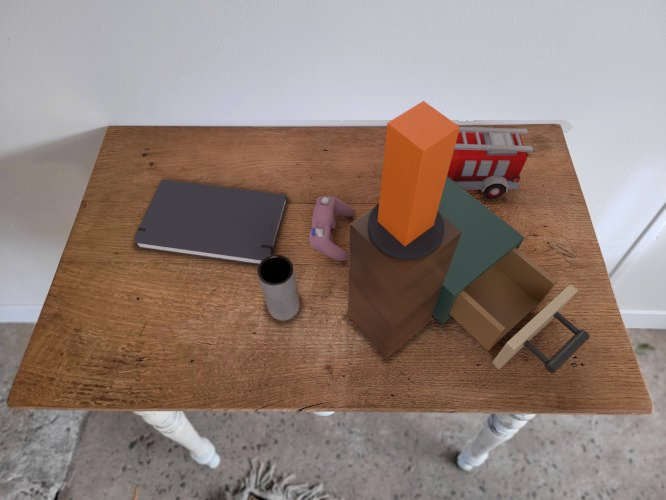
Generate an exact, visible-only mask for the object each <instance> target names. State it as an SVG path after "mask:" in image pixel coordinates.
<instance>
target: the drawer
mask: <svg viewBox="0 0 666 500" xmlns="http://www.w3.org/2000/svg"><path fill="white" fill-rule="evenodd" d="M557 283H558V280H557V279H556V278H554V277H553V276H552V275H551V274H550V273H549V272H547V271H546V270H545V269H544V268H542V267H541V266H540V265H539V264H537V263H536V262H535V261H534V260H532V259H531V258H530V257H529V256H527V255H526V254H525V253H524V252H523V251H521V250H520V248H519V249H517V248H516V247H515V248H514V249H512V250H511V251H510V252H509V253H508V254H506V255H505V256H504V257H503V258H502V259H500V260H499V261H498V262H497V263H495V264H494V265H493V266H492V267H491V268H489V269H488V270H487V271H486V272H485V273H483V274H482V275H481V276H480V277H479V278H477V279H476V280H475V281H474V282H473V283H471V284H470V285H469V286H468V287H466V288H465V289H464V290H463V291H462V292H460V293H459V294H458V295H457V297H456V299H455V302H454V304H453V306H452V309H451V311H450V313H449V314H450V315H451V316H452V317H451V318H452V319H454V320H455V321H456V322H457V323H458V324H459V325H460V326H461V327H462V328H463V329H464V330H465V331H466V332H468V334H469V335H470V336H472V337H473V339H474V340H476V341H477V342H478V343H479V344H480V345H481V346H482V347H483V348H484V349H485V350H486V351H487V352H489V351H490V350H491V349H492V348H493V347H495V345H497V344H498V343H499V342H500V341H501V340H502V339H504V337H505V336H506V335H508V333H510V332H511V331H512V330H513V329H514V328H515V327H516V326H517V325H519V324H520V323H521V322H522V321H523V320H524V319H525V318H526V317H527V316H529V315H530V313H532V312H533V311H534V310H535V309H536V308H538V307H539V305H540V304H542V302H543V301H544V300H545V299H546V297H547V296H548V295H549V293H550V292H551V290H552V289H553V288H554V286H555V285H556V284H557ZM578 292H579V289H578V288H577V287H575V286H574V285H572V284H571V283H569V284H568V286H567V287H564V289H563V290H562V291H561V292H560V293H559V294H558V295H556V296H555V297H554V298H553V299H552V300H551V301H550V302H549V303H548V304H546V306H545V307H543V308H542V309H541V310H540V311H539V312H538V313H537V314H536V315H535V316H534V317H533V318H531V319H530V320H529V322H527V323H526V324H525V325H524V326H523V327H521V329H520V330H519V331H518V332H516V333H515V334H514V335H513V336H512V337H511V338H510V339H509V340H508V341H506V343H505V344H504V345H503V347H502V348H501V349H500V350H499V352H498V353H497V355H496V356H495V358H494V359H493V360H492V361H491V364H492V365H493V366H494V367H495V368H497V369H498V370H500V369H501V368H502V367H503V366H505V365H506V363H508V362H509V361H510V360H511V359H512V358H513V357H514V356H515V355H516V354H518V352H520V350H521V349H522V348H524V347H526V349H527V350H529V352H531V353H532V354H533V355H535V357H536V358H538V360H540V361H541V362H542V363H543V364H544V369H545V370H546V371H547V372H548V373H550V374H555V373H557V371H558V370H559V369H560V368H561V367H562V366H563V365H564V364H565V363H566V362H567V361H568V360H569V359H570V358H571V357H572V356H573V355H574V354H575V353H576V352H577V351H578V350H579V349H580V348H581V347H582V346H583V345H584V344H585V343H587V341H588V340H589V339H590V337H591V336H590V334H589V333H588V332H587V331H586V330H585V329H579V328H578V327H577V326H575V325H574V324H573V323H572V322H571V321H569V320H568V319H567V318H566V317H565V316H564V315H562V314H561V313H560V312H561V311H562V310H563V309H564V308H565V307H566V305H568V303H569V302H570V301H571V300H572V298H573V297H574V296H575V295H576V294H577V293H578ZM553 319H556V320H557V321H558V322H559V323H560V324H561V325H563V326H564V327H565V328H567V329H568V330H569V331H570V332H571V333H572V334H574V335H573V336H571V337H570V339H569V340H568V341H567V342H566V343H565V344H563V346H561V348H560V349H559V350H557V352H556V353H554V354H553V355H552V357H550V358H549V357H547V356H546V355H545V354H544V353H543V352H541V350H539V349H538V348H537V347H536V346H535V345H534V344H533V343H531V342H530V341H531V340H532V339H533V338H534V337H535V336H536V335H537V334H539V333H540V332H541V331H542V330H543V329H544V328H545V327H546V326H548V324H549V323H551V321H552V320H553Z"/></svg>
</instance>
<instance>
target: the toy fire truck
mask: <svg viewBox="0 0 666 500" xmlns="http://www.w3.org/2000/svg"><path fill="white" fill-rule="evenodd" d="M459 127H460V129H459V133H458V137H457V141H456V144H455V148H454V152H453V155H452V159H451V163H450V167H449V170H448V174H447V177H449V178H450V179H451V180H453V181H454V182H455V183H456V184H458V185H459V186H460V187H461V188H463V189H464V190H465V191H471V190H472V191H475V190H477V191H479V190H480V192H481V193H483V196H484V197H485V198H486V199H490V200H491V199H492V200H496V199H498V198H502V196H503V195H504V194H506V193H508V192H509V190H519V188H520V186H521V183H520V180H521V176H520V175H521V174H522V173H521V172H522V171H523V168H524V166H525V165H526V163H527V159H528V155H527V152H531V153H532V152H533V151H534V148H533V146H532V145H524V143H523V138H522V136H521V135H528V129H527V128H514V127H513V128H511V127H479V126H459Z"/></svg>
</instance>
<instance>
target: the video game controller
mask: <svg viewBox="0 0 666 500" xmlns="http://www.w3.org/2000/svg"><path fill="white" fill-rule="evenodd" d="M313 208H314V209H313V212H312V218H311V229H310V230H309V233H308V239H309V244H310V246H311V248H312V249H313V250H314V251H318V252H319V253H321V254H323V255H324V256H326V257H328V258H330V259H333V260H335V261H340V262H345V261H347V260H349V254H348V253H347V251H345V250H344V249H343V248H341V247H339V246H338V245H337V244H335V243H334V237H333V233H332V232H331V231H332V230H334V229H336V228H337V227H336V226H337V220H336V218H335V214H336V215H338V216H342V217H348V218H349V217H353V216H354V215H355V209H354V208H353V206H351V205H349V204H348V203H347V202H344V201H342V200H340V199H338V198H336V197H335V196H333V195H321V196H318V197H317V198H316V200H315V205H314V207H313Z"/></svg>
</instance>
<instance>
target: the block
mask: <svg viewBox="0 0 666 500" xmlns="http://www.w3.org/2000/svg"><path fill="white" fill-rule="evenodd" d="M460 127H461V126H460V125H458V124H456V123H455V122H454V121H452V120H451V119H449V118H448V117H447V116H446V115H444V114H443V113H441V112H440V111H438V110H437V109H436V108H434V106H432V105H430V104H429V103H427V102H426V101H424V100H422V101H421V102H419V103H417V104H416V105H414V106H412V107H411V108H409V109H408V110H406V111H404V112H403V113H401V114H399V115H398V116H396V117H395V118H392V119H391V120H390V121H388V122H387V123H386V132H385V133H386V134H385V141H384V142H385V144H384V152H383V161H382V162H383V163H382V170H381V171H382V172H381V180H380V181H381V182H380V192H379V202H378V204H379V211H378V222H379V223H380V224H381V225H382V226H383V227H384V228H385V229H386V230H387V231H388V232H389V233H391V234H392V235H393V236H394V237H395V238H396V239H397V240H398V241H399V242H400V243H401V244H403V245H404V246H406V245H408V244H409V243H411V242H412V241H413V240H415V239H416V238H417V237H419V236H420V235H421V234H423V233H424V232H425V231H427V230H428V229H429V228H431V227H432V226H433V225H434V222H435V219H436V215H437V211H438V207H439V204H440V200H441V196H442V193H443V189H444V185H445V181H446V178H447V174H448V170H449V167H450V163H451V159H452V155H453V152H454V148H455V144H456V141H457V137H458V133H459V129H460Z"/></svg>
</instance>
